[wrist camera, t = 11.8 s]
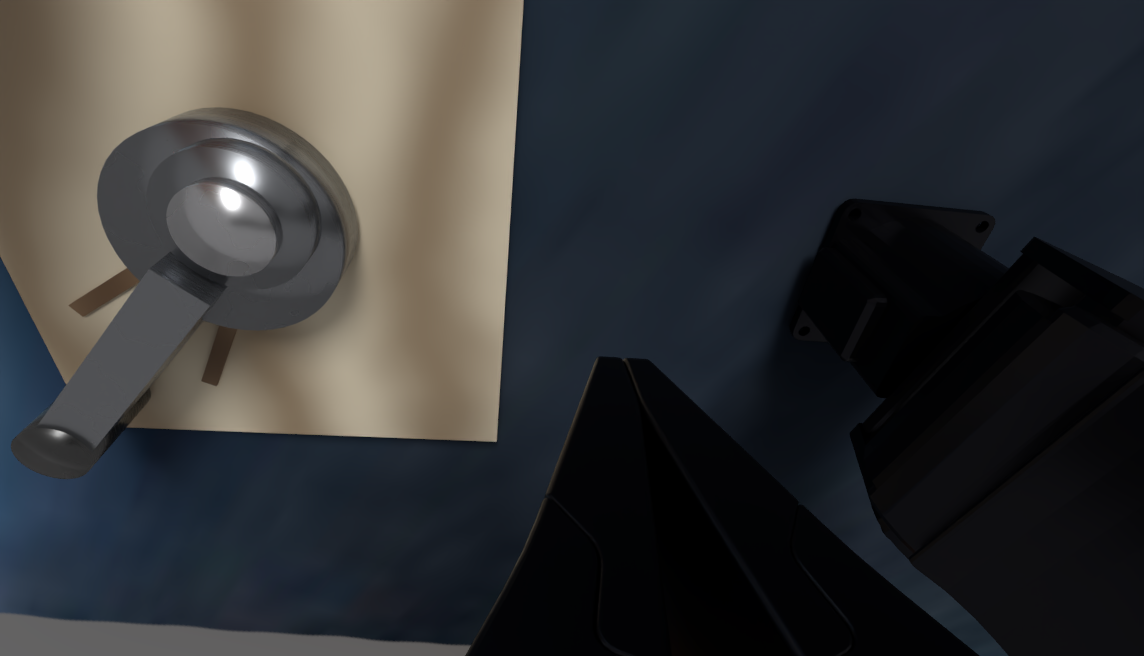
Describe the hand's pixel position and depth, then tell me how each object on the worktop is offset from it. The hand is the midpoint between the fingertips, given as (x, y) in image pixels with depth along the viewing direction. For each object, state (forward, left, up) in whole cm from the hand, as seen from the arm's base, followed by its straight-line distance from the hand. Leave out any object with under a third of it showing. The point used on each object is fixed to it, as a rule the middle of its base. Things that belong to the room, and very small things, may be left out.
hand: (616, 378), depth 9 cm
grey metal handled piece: (+13, +6, -12) cm, 19 cm away
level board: (+11, +4, -13) cm, 17 cm away
